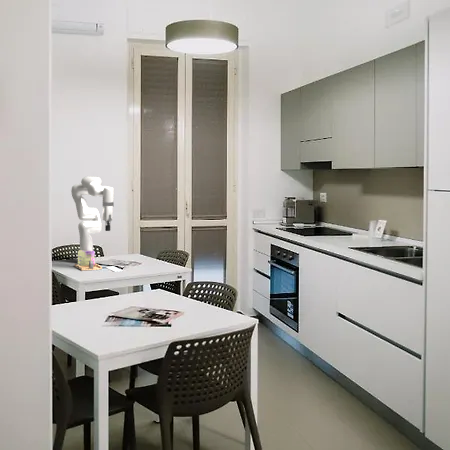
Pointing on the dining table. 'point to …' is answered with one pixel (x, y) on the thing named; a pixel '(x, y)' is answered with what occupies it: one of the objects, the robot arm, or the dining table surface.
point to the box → (85, 257)
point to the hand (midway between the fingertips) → (107, 230)
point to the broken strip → (114, 269)
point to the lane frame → (89, 266)
